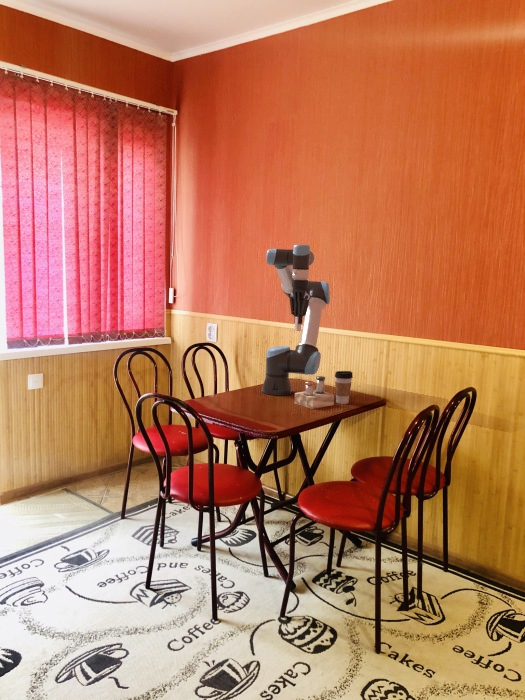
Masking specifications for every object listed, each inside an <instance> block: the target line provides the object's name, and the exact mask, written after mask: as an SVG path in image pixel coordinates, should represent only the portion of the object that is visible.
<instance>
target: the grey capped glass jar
mask: <svg viewBox="0 0 525 700" xmlns="http://www.w3.org/2000/svg"><path fill="white" fill-rule="evenodd" d="M315 378H316V389H315V390H316V393H317V394H324V392H325V382H326V381H325V380H326V376H323V375H321V376H320V375H317V376H315Z"/></svg>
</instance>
